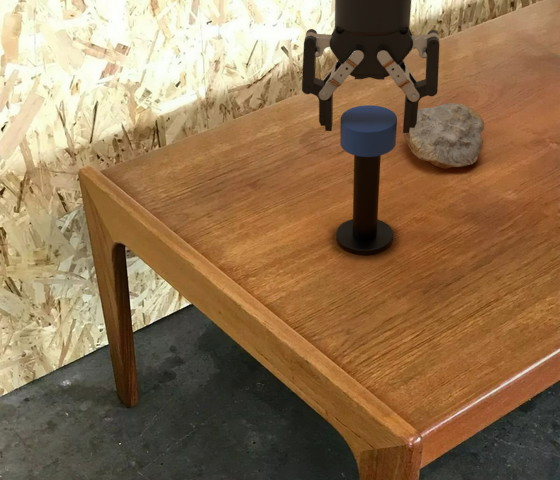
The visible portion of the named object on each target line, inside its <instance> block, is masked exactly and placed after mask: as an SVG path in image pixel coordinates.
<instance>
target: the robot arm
mask: <svg viewBox="0 0 560 480" xmlns="http://www.w3.org/2000/svg"><path fill="white" fill-rule="evenodd" d="M411 11H412V0H334V28H333V31H332V33H331V34H328V33H327V34H326V33H318V32H317V30H315V29H313V28H310V29H308V30H307V31H306V32H305V35H304V39H303V53H302V54H303V55H302V75H301V76H302V77H301V92H302V93H303V94H304V95H313V96H315V97H316V98H317V99H318V122H319V124H320V126H321V127H324V131H325V132H332V131H333V123H334V121H333V120H334V92H336V91H337V89H338V88H339V87H341V86H342V85H343V83H344V82H345V81H346V80H347V78H348V77H350V76H351V77H352V78H354V80H365V79H368V78H370V79H374V80H379V81H380V80H381V81H384V80H385V78H387V77H391V79H392V80H393V81H394V83H395V85H396V86H397V87H398V88H400V89H401V91H402V92H403V93H404V107H403V120H402V134H403V133H409V132H410V128H415V126H416V124H417V113H418V110H419V102H420V101H421V99H422V98H424V97H427V96H428V97H435V96H436V95H437V94H438V90H439V69H440V68H439V66H440V33H439V32H438V31H437V30H435V29H431V30H429V31H428V32H427V33H426V34H412V32H411V30H410V28H411V27H410V25H411V23H410V22H411ZM327 48H329V49H330V50H331V52H332V54H333V55H334V56H335V58H336V59H337V60H336V61H335V62H334V63H333V65H332V67H331V68H330V70H329V71H328V72H327V74H326V75H325V76H324V77H323V79H320V78H318V77H316V68H317V58H321V57H322V56H323V54H324V51H325V49H327ZM412 49H415V50H417V51H418V55H419V57H420V58H422V59H425V78H424V79H421V80H417V78H416V77H415V76H414V74H413V72H412V71H411V70H410V67H409V65H408V63H407V62H406V61H405V59H406V58H407V56H408V55H409V54H410V53H411V51H412Z"/></svg>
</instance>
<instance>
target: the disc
mask: <svg viewBox="0 0 560 480" xmlns="http://www.w3.org/2000/svg"><path fill="white" fill-rule="evenodd" d="M397 127H398V116H397V114H396V113H395V112H394V111H393V110H391V109H390V108H387V107H384V106H381V105H373V104H372V105H370V104H369V105H365V104H364V105H358V106H353V107H350V108H349V109H346V110H345V111H344V112H343V113H341V116H340V129H339V130H340V131H339V132H340V135H339V136H340V137H339V138H340V140H339V143H340V147H341V148H342V150H343V151H344V152H346V153H347V154H349V155H352V156H354V155H356V156H361V157H375V156H380V155H381V156H383V155H386V154H389V153H390V152H391V151H393V150H394V149H395V147H396V143H397V129H398V128H397Z"/></svg>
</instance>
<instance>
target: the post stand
mask: <svg viewBox="0 0 560 480" xmlns="http://www.w3.org/2000/svg"><path fill="white" fill-rule="evenodd" d="M381 156H382V155H380V156H375V157H361V156H356V155H353V190H352V191H353V193H352V219H348V220H346V221H345V222H342V223H341V224H340V225H339V226H338V227H337V230H336V232H335V233H336V234H335V239H336V243H337V245H338V246H339V247H340V249H342V250H343V251H344V252H346V253H347V252H348V253H349V254H353V255H357V256H372V255H373V256H374V255H376V254H380V253H383V252H384V251H386V250H388V249H389V248H390V247H391V246H392V243H393V241H394V232H393V229H392V227H391V226H390V225H389V224H388V223H387V222H385V221H383V220H381V219H379V218H378V217H379V216H378V215H379V199H380V198H379V197H380V178H381V177H380V176H381V159H382V158H381Z"/></svg>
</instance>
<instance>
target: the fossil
mask: <svg viewBox="0 0 560 480" xmlns="http://www.w3.org/2000/svg"><path fill="white" fill-rule="evenodd" d="M484 130H485V122H484V120H483V118H482V116H481V114H480V113H479V112H478V111H476V110H475V109H472V108H471V107H469V105H467V104H466V105H465V104H462V103H452V102H445V103H442V104H439V105H435V106H430V107H422V108H418V113H417V124H416V126H415V128H410V132H409V133H403V132H402V136H403V139H404V141H405V143H406V144H407V146H408V148H409V149H410V150H411V153H412V154H413V155H414V156H415V157H416V158H417V159H418V160H421V161H424V162H429V163H431V164H432V165H433V166H435V167H438V168H441V169H450V168H462V167H466V166H470V165H473V164H474V163H475V162H477V160H478V158H479V156H480V155H481V154H480V153H481V150H482V148H483V138H482V133H483V132H484Z"/></svg>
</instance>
